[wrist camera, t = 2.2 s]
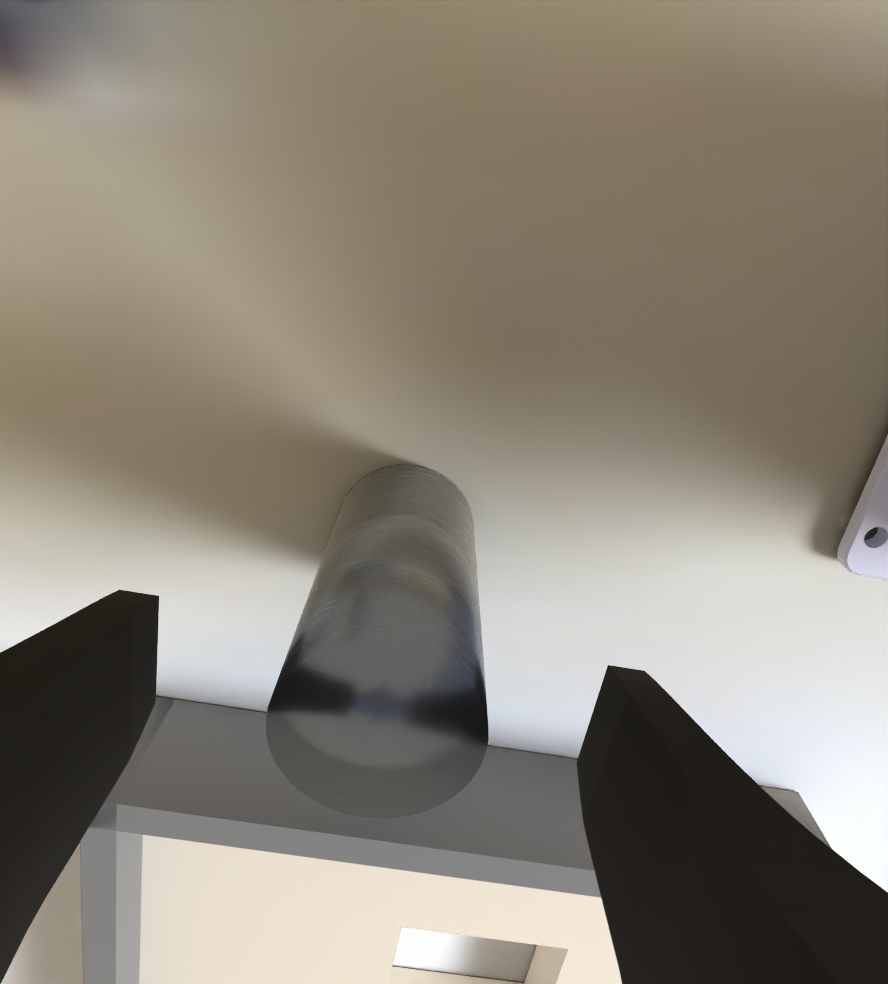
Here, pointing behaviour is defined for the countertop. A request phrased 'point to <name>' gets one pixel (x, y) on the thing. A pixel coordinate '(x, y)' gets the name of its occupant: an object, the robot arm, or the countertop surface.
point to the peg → (387, 655)
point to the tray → (330, 868)
